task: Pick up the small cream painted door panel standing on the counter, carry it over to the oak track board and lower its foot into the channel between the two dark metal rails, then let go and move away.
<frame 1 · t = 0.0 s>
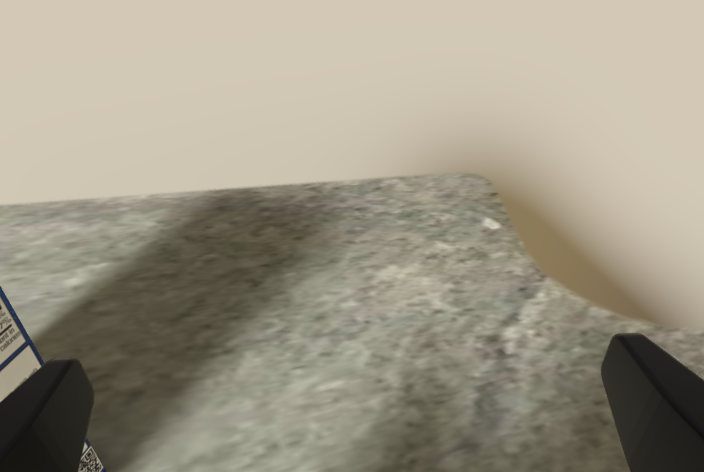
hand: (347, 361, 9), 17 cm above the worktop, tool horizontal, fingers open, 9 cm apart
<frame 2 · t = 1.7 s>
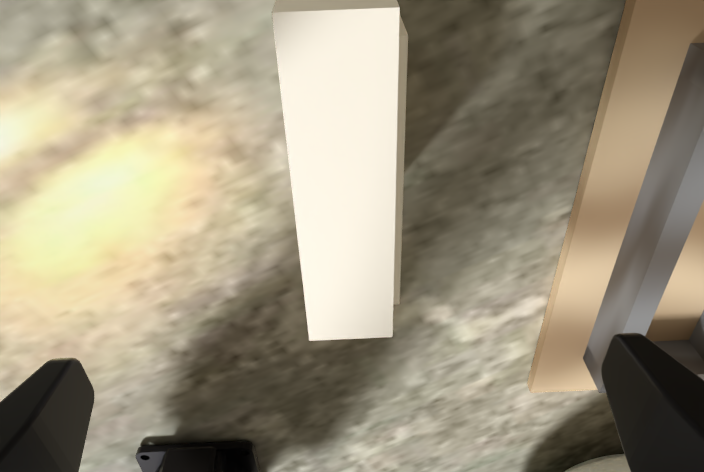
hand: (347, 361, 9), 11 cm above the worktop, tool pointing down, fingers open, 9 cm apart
door panel: (340, 94, 18), on the worktop
track board: (689, 221, 22), on the worktop
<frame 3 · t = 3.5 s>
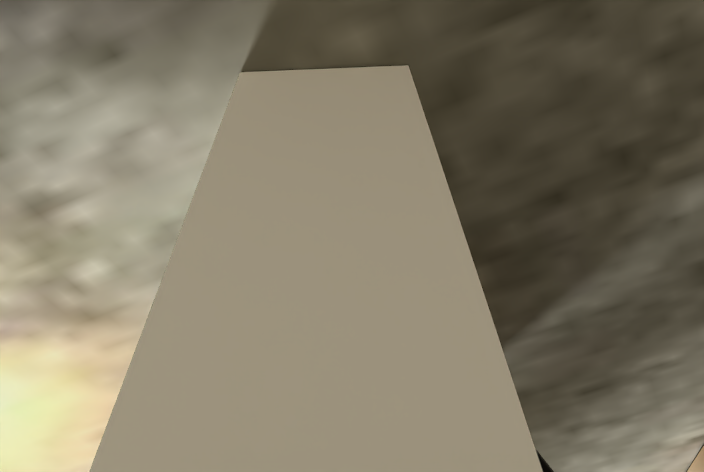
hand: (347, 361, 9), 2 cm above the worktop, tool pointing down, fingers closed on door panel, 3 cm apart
door panel: (338, 298, 10), on the worktop, touching gripper
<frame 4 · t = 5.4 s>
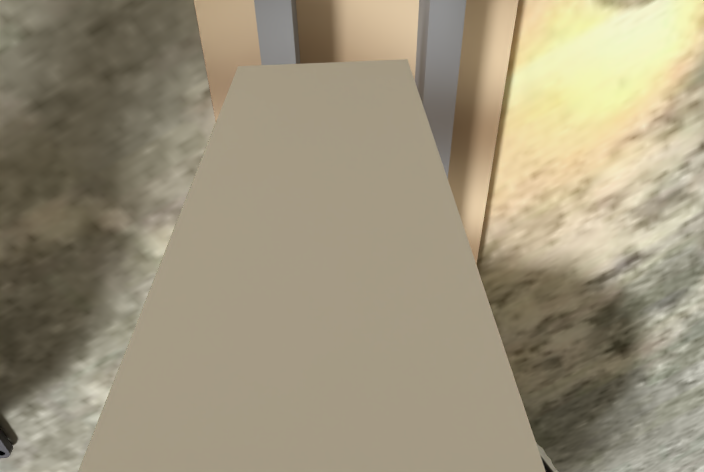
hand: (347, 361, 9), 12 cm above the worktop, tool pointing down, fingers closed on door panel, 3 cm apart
door panel: (337, 295, 10), point 11 cm above the worktop, touching gripper
track board: (357, 103, 19), on the worktop
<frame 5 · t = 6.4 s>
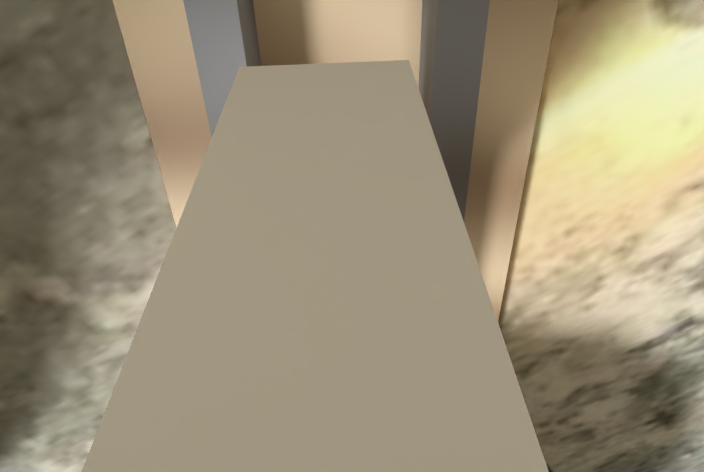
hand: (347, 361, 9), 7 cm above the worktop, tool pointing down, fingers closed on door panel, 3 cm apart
door panel: (338, 296, 10), point 6 cm above the worktop, touching gripper
track board: (344, 150, 15), on the worktop
when the fingers open (3 cm above the worktop, at t = 7.3 s): door panel drops 1 cm, resting on track board.
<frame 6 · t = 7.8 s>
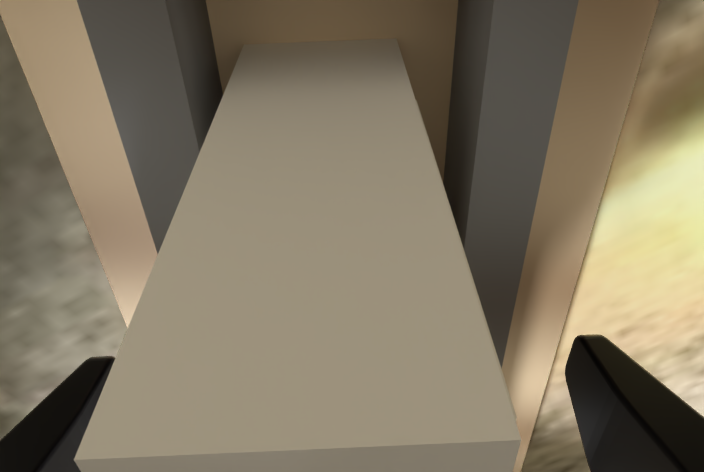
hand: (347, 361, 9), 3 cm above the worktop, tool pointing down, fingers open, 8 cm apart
door panel: (334, 261, 11), point 1 cm above the worktop, touching track board
track board: (345, 245, 12), on the worktop
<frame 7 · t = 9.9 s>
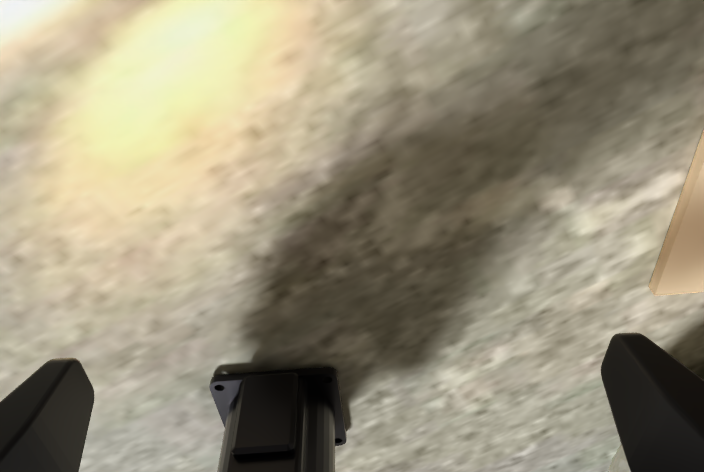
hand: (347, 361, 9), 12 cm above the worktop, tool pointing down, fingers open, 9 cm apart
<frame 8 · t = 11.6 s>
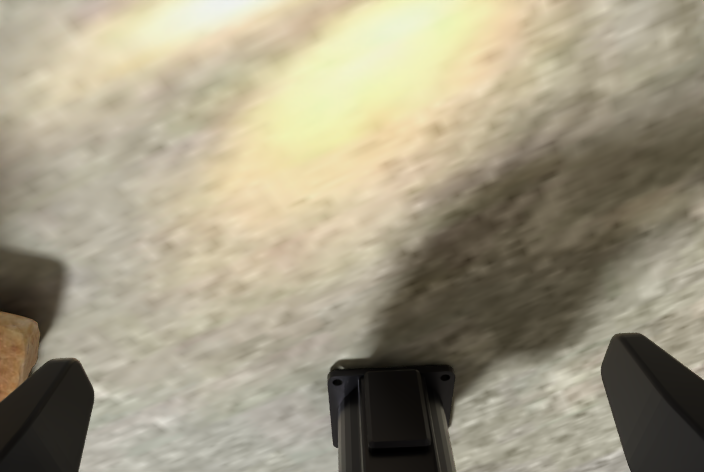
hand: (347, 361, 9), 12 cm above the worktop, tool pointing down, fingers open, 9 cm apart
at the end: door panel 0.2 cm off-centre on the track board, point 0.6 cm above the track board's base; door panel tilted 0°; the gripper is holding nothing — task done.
